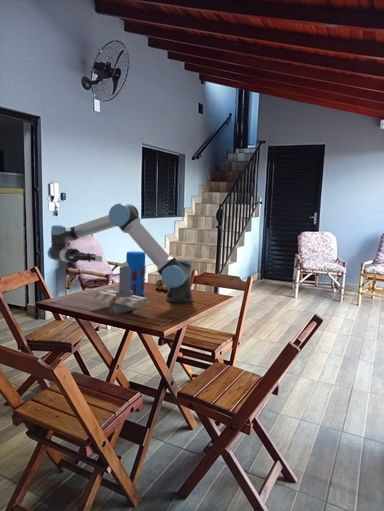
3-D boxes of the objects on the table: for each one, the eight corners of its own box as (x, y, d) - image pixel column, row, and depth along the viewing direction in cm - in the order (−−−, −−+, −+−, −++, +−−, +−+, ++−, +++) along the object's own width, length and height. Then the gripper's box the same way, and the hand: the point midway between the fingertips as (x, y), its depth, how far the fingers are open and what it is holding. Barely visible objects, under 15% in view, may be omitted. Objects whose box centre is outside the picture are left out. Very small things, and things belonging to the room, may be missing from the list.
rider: (115, 298, 177) (116, 262, 175) (127, 295, 184) (128, 260, 182) (121, 300, 175) (122, 263, 173) (133, 297, 182) (134, 261, 180)
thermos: (147, 294, 219) (149, 252, 216) (135, 297, 210) (137, 254, 207) (133, 291, 225) (135, 250, 222) (121, 294, 216) (122, 252, 213)
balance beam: (92, 308, 184) (92, 292, 183) (110, 303, 194) (110, 288, 193) (134, 319, 169) (135, 301, 168) (151, 313, 179) (151, 297, 178)
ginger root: (162, 283, 247) (164, 272, 245) (180, 292, 239) (183, 281, 237) (146, 287, 235) (148, 275, 232) (165, 297, 227) (168, 285, 224)
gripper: (80, 260, 205) (110, 265, 192) (60, 263, 194) (91, 267, 181) (79, 247, 204) (110, 250, 191) (60, 249, 193) (90, 252, 181)
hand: (100, 259), depth 186 cm, fingers closed
